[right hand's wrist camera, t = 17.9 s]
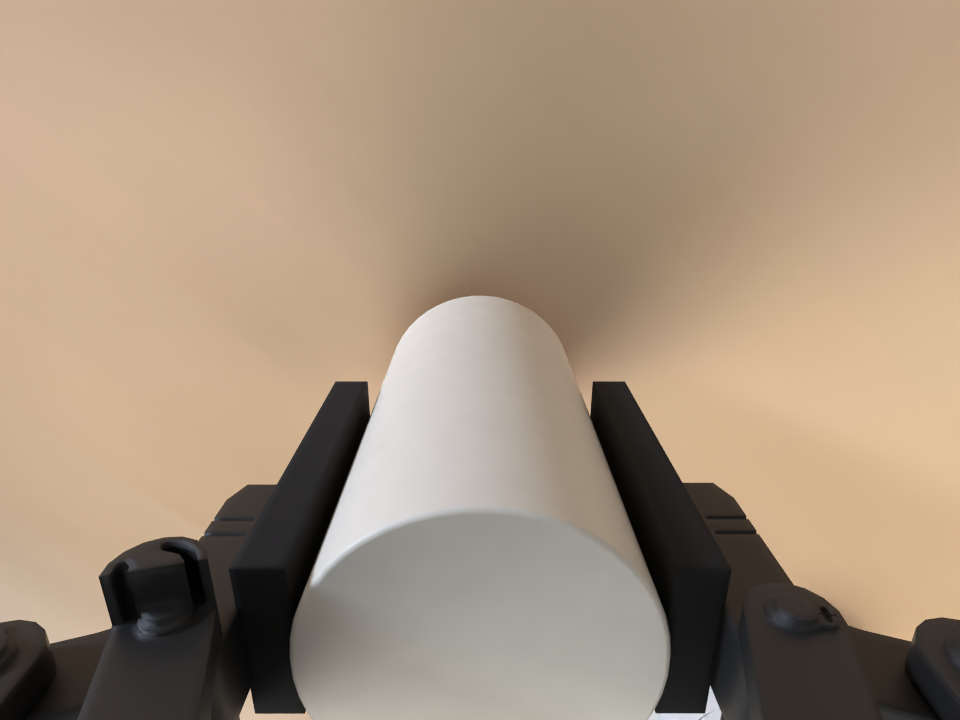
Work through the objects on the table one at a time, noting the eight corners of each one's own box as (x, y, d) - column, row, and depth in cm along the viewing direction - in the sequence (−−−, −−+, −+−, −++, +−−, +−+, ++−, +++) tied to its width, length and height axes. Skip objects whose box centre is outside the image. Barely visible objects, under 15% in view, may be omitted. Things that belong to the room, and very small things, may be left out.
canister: (390, 456, 19) (298, 792, 9) (390, 290, 17) (274, 498, 7) (560, 463, 19) (641, 805, 9) (579, 299, 17) (706, 518, 8)
